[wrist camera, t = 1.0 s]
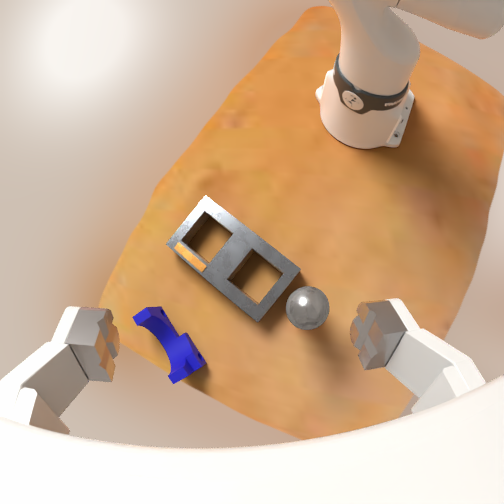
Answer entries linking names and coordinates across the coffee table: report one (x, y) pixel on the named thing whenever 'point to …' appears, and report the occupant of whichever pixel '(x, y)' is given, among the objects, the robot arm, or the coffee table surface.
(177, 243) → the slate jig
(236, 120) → the coffee table surface
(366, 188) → the coffee table surface
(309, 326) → the steel bushing
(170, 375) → the cable clip
